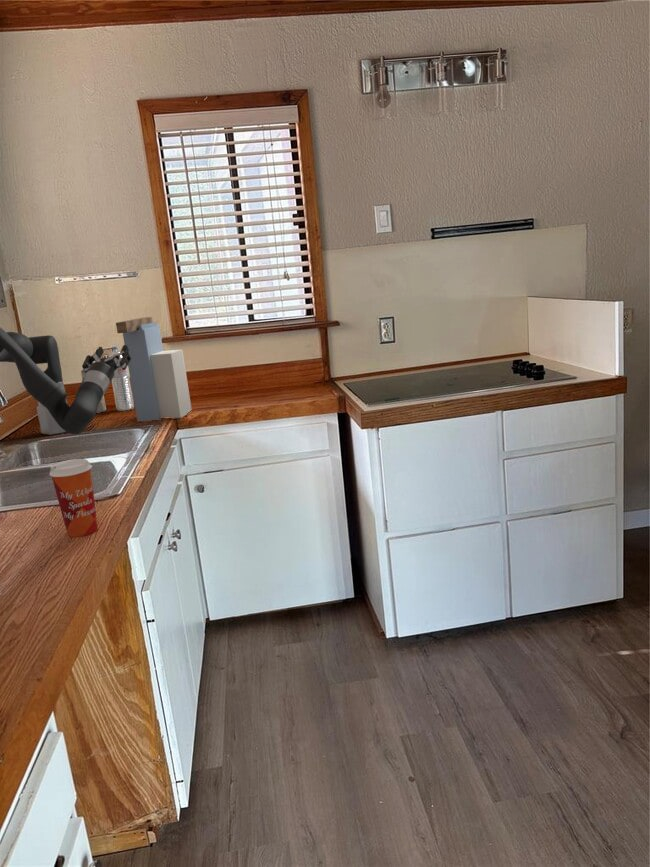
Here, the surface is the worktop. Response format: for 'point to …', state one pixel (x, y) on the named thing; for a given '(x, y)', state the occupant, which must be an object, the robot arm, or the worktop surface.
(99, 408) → the aerosol can
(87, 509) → the paper cup
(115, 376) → the water bottle
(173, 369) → the white tall block
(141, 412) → the tower
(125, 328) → the bar
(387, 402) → the worktop surface
